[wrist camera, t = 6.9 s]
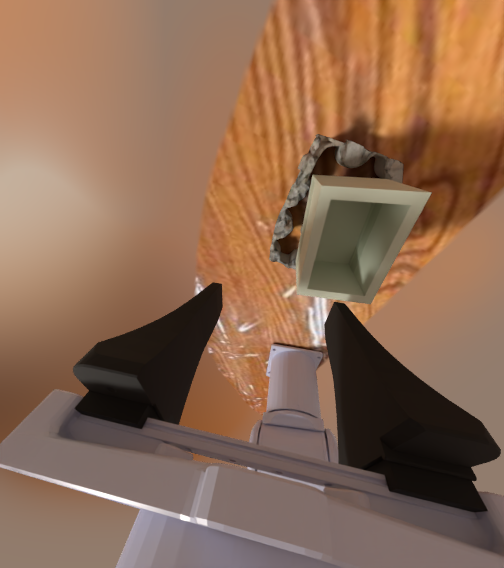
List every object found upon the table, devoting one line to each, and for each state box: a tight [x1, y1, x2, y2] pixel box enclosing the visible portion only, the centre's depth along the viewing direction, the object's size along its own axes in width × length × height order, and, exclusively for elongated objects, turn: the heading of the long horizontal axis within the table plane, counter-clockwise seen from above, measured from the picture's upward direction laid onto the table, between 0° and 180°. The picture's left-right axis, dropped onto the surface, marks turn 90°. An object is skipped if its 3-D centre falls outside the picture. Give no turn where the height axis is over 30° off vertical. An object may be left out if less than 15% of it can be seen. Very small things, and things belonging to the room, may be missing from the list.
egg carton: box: [269, 134, 403, 270], centre depth 16 cm, size 11×8×4 cm
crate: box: [296, 175, 432, 304], centre depth 13 cm, size 7×5×5 cm
